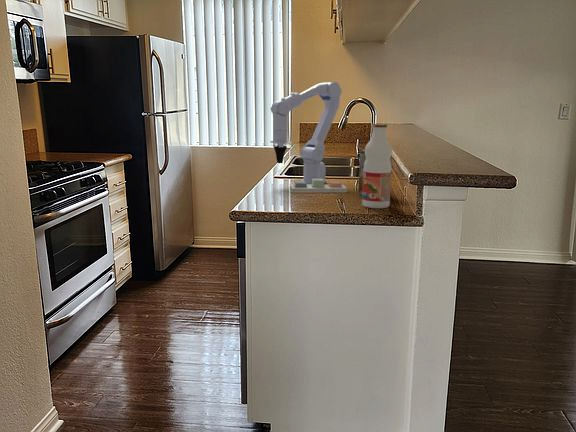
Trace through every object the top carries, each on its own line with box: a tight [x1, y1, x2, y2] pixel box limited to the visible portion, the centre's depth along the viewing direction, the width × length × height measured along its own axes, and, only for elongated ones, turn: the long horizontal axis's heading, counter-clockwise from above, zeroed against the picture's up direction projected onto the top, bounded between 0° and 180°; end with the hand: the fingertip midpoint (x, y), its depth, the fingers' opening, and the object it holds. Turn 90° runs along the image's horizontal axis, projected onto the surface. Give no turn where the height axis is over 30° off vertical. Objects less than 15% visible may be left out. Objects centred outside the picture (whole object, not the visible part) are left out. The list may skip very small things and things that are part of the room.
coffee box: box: [358, 151, 366, 196], centre depth 198 cm, size 9×6×16 cm
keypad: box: [289, 183, 348, 194], centre depth 208 cm, size 22×10×2 cm, turn 95°
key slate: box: [294, 181, 308, 188], centre depth 207 cm, size 4×4×2 cm
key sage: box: [312, 179, 325, 186], centre depth 207 cm, size 4×4×2 cm
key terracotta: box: [328, 181, 343, 187], centre depth 208 cm, size 4×4×2 cm
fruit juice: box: [361, 123, 393, 209], centre depth 175 cm, size 9×9×28 cm
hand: (279, 163), depth 217 cm, fingers closed
